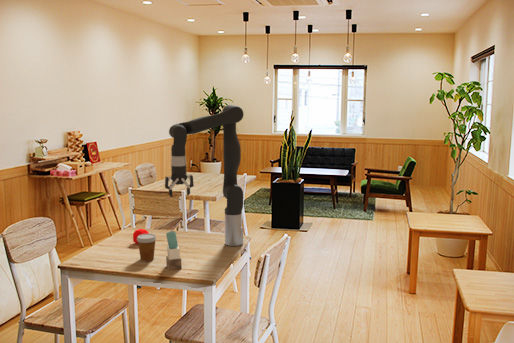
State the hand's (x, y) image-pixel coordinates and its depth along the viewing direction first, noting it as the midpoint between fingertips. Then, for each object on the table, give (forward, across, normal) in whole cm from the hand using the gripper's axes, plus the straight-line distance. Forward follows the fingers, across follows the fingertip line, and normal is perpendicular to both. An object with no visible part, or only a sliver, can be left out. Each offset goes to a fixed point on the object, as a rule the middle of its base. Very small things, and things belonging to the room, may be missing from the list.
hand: (179, 195), depth 258 cm
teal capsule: (+20, +8, +20) cm, 29 cm away
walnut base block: (+30, +8, +20) cm, 37 cm away
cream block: (+25, +8, +20) cm, 33 cm away
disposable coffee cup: (+30, +18, +4) cm, 35 cm away
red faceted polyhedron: (+30, +17, -23) cm, 42 cm away
